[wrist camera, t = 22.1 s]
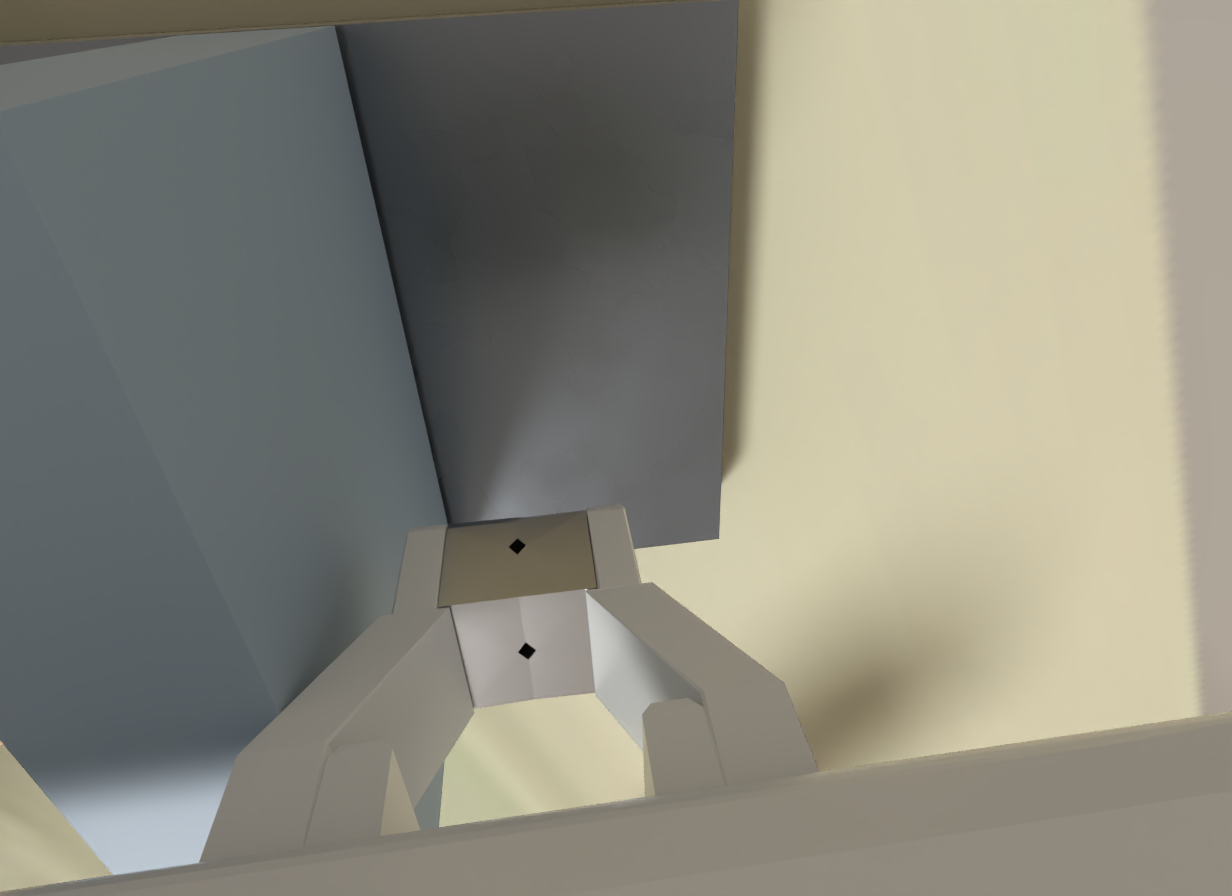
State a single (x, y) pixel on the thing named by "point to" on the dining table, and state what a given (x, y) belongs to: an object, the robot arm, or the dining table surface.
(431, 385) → the vise
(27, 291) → the vise jaw
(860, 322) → the dining table surface
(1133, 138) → the dining table surface
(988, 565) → the dining table surface
